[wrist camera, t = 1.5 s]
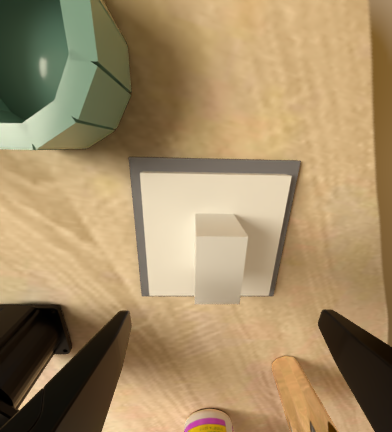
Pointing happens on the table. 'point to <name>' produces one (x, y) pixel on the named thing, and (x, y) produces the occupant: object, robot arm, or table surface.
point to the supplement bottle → (208, 421)
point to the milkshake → (299, 398)
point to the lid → (212, 233)
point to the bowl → (60, 74)
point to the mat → (211, 166)
